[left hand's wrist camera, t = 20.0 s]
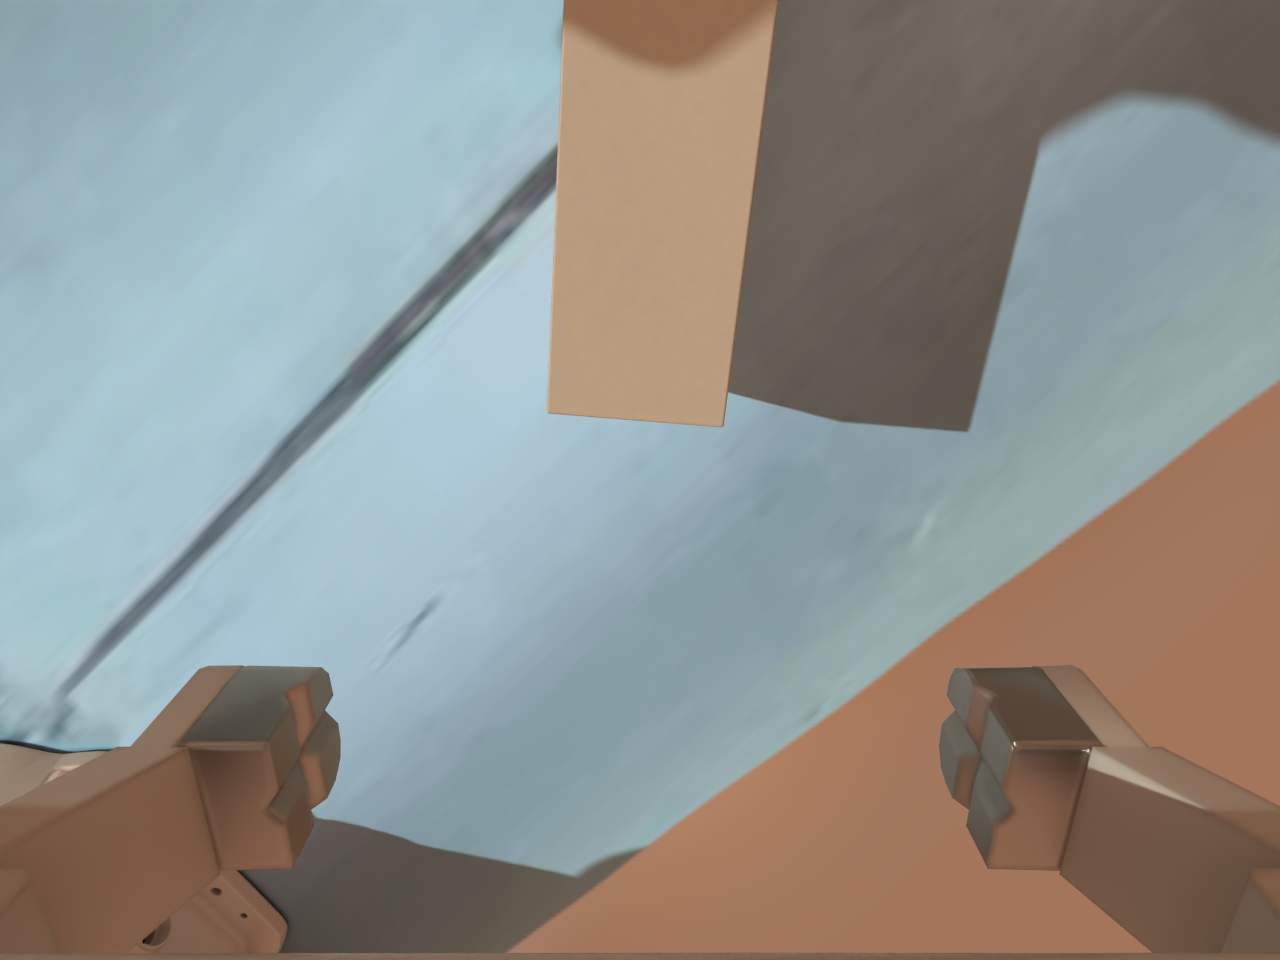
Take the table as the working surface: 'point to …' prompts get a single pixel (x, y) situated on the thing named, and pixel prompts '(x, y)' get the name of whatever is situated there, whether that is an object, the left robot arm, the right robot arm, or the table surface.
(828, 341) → the table surface
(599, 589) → the table surface
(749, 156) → the bar
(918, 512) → the table surface
